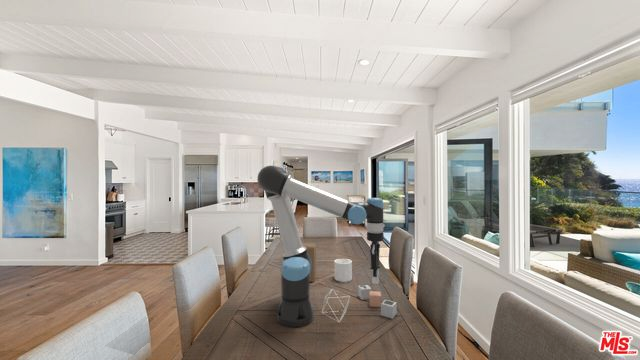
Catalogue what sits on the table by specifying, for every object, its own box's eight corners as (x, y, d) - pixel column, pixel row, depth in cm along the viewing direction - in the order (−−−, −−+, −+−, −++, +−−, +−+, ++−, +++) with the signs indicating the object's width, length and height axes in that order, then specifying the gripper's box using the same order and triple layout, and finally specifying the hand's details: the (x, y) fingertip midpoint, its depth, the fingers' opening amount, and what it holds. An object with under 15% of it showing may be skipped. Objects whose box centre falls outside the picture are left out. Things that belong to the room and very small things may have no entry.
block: (316, 276, 164) (316, 242, 164) (314, 282, 154) (314, 246, 154) (299, 276, 165) (299, 242, 165) (296, 282, 155) (296, 246, 155)
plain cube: (380, 307, 124) (380, 296, 124) (369, 306, 125) (369, 295, 125) (380, 302, 129) (380, 291, 129) (369, 301, 130) (369, 291, 130)
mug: (353, 281, 155) (353, 263, 155) (335, 282, 155) (335, 263, 155) (349, 274, 168) (349, 257, 168) (333, 274, 167) (333, 257, 167)
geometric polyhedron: (317, 318, 114) (317, 296, 114) (326, 307, 124) (326, 287, 124) (346, 324, 110) (346, 301, 110) (353, 312, 120) (353, 291, 120)
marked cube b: (371, 299, 133) (371, 288, 133) (361, 299, 132) (361, 288, 132) (367, 295, 138) (367, 284, 138) (358, 295, 137) (358, 284, 137)
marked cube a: (392, 319, 114) (392, 306, 114) (380, 315, 117) (381, 303, 117) (396, 314, 118) (396, 301, 118) (385, 311, 121) (385, 298, 121)
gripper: (381, 234, 120) (381, 289, 120) (385, 229, 132) (385, 279, 132) (364, 233, 122) (364, 287, 122) (369, 228, 135) (369, 277, 135)
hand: (375, 283), depth 127 cm, fingers closed
